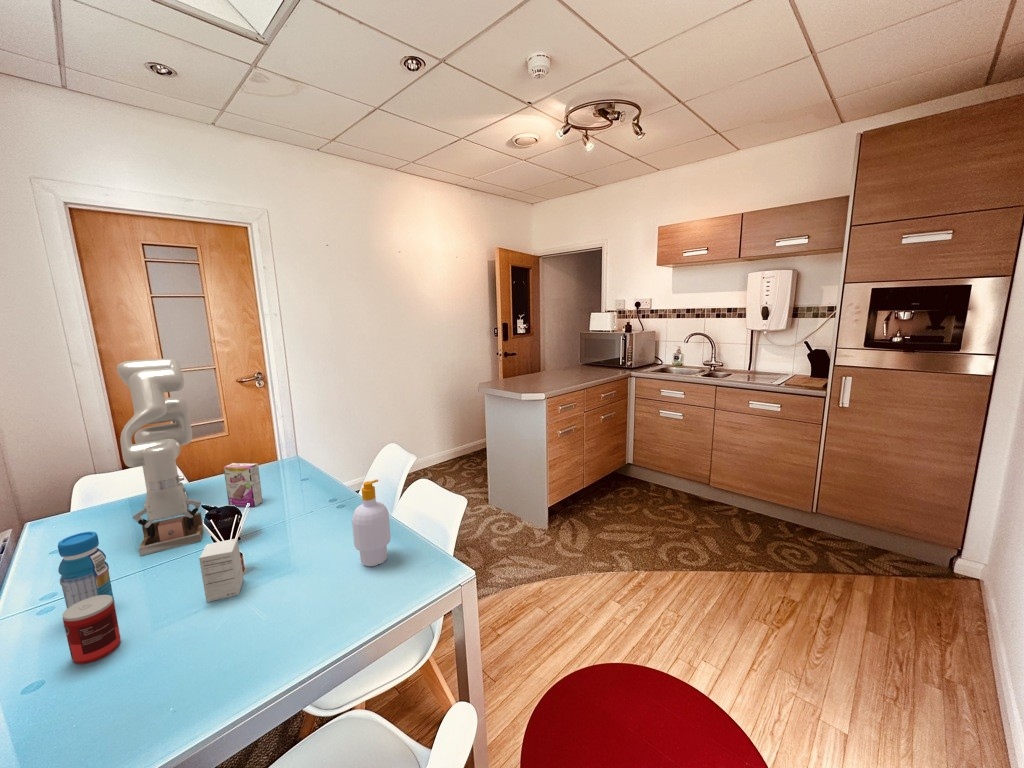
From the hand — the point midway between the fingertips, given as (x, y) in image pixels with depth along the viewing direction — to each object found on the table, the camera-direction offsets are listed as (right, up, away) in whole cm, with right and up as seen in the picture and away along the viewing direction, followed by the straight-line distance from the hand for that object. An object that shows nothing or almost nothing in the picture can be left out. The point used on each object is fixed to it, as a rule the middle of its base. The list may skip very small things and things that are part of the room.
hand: (172, 532), depth 136 cm
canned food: (+20, -10, -45) cm, 50 cm away
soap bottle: (+71, -4, -13) cm, 72 cm away
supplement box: (+35, -7, -25) cm, 44 cm away
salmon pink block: (0, -3, +1) cm, 3 cm away
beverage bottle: (+7, -9, -32) cm, 34 cm away
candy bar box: (+7, +1, +27) cm, 28 cm away
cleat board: (0, -3, 0) cm, 3 cm away
